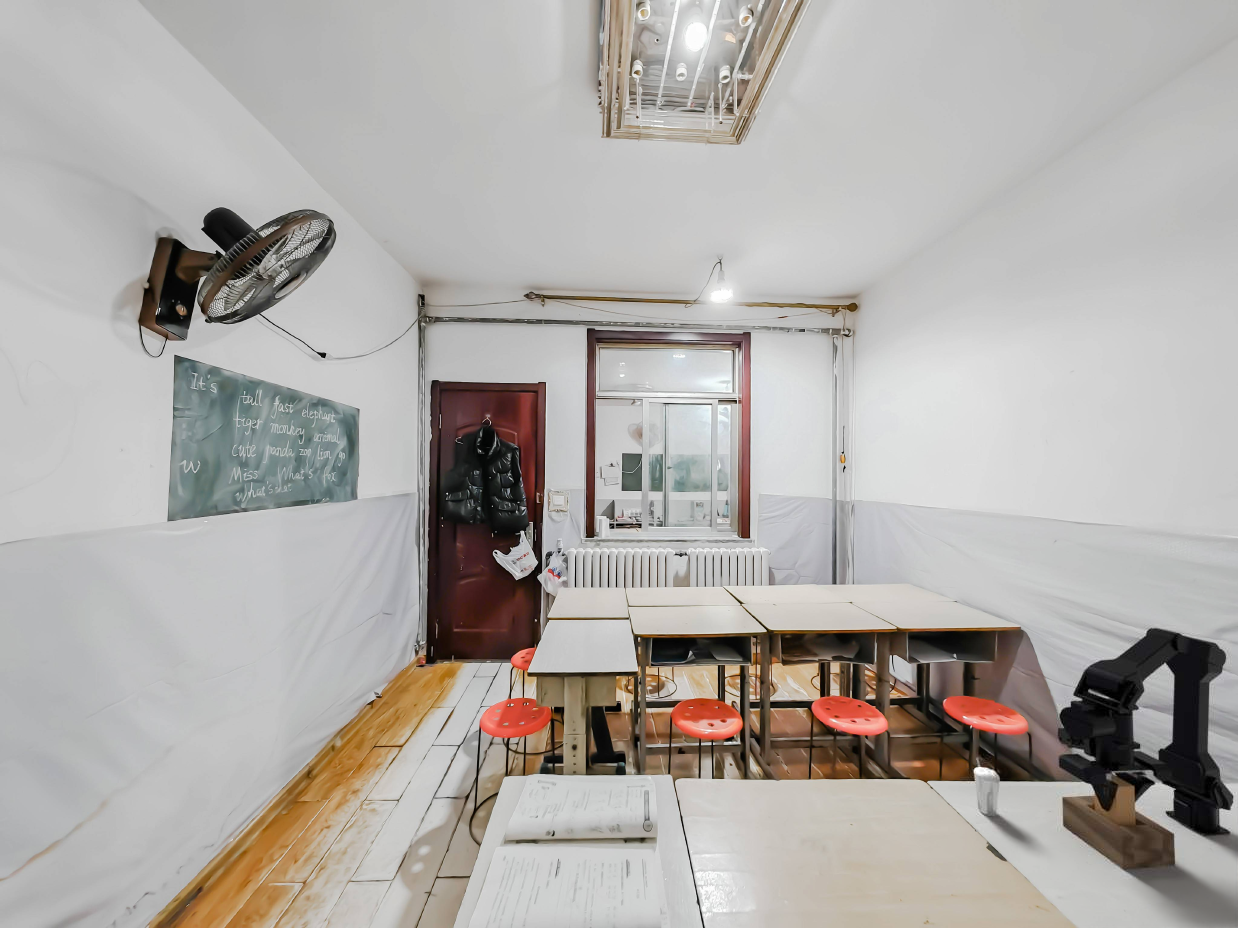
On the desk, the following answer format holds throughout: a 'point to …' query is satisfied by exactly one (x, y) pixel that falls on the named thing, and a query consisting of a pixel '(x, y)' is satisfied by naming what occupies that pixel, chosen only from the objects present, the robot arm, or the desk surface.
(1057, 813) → the desk surface
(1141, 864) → the socket
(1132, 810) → the peg
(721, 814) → the desk surface
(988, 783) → the milkshake
